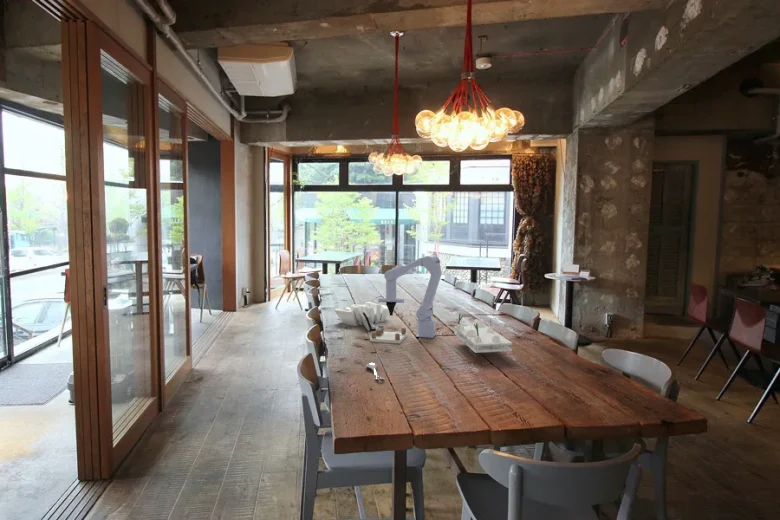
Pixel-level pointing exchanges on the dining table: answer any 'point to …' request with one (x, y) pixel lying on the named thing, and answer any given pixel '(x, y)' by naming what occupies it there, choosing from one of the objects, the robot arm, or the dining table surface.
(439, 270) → the robot arm
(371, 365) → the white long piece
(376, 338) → the stool seat
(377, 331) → the hammer
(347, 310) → the wavy white extrusion
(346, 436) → the dining table surface
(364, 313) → the hinge
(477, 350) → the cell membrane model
